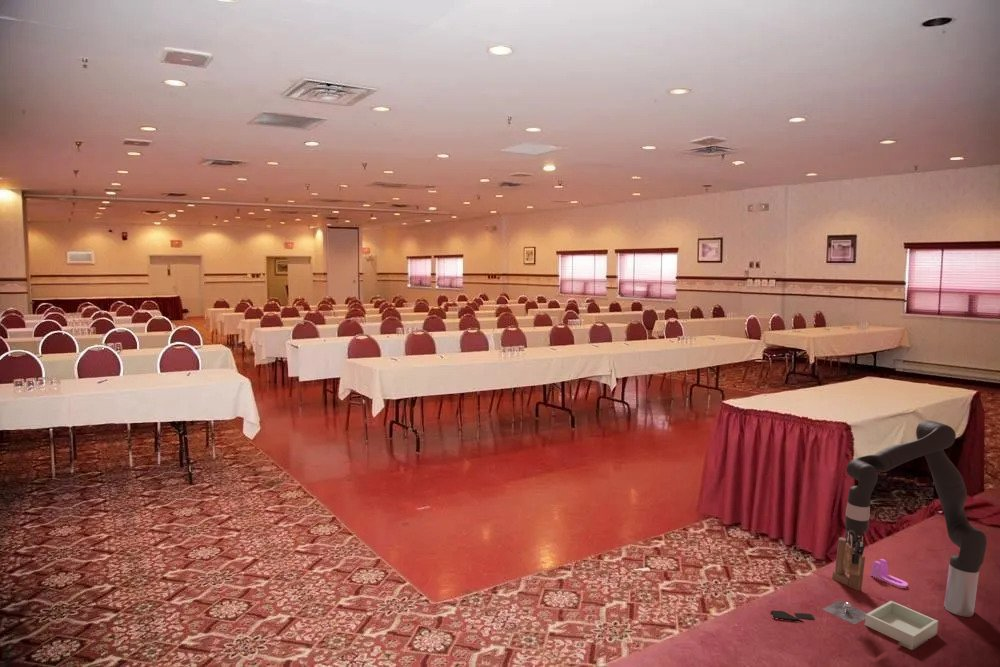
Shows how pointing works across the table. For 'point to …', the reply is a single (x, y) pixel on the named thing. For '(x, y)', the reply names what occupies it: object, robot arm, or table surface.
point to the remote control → (786, 616)
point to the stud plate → (846, 612)
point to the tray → (902, 624)
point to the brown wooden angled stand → (839, 572)
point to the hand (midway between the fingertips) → (852, 560)
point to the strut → (847, 563)
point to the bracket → (885, 574)
